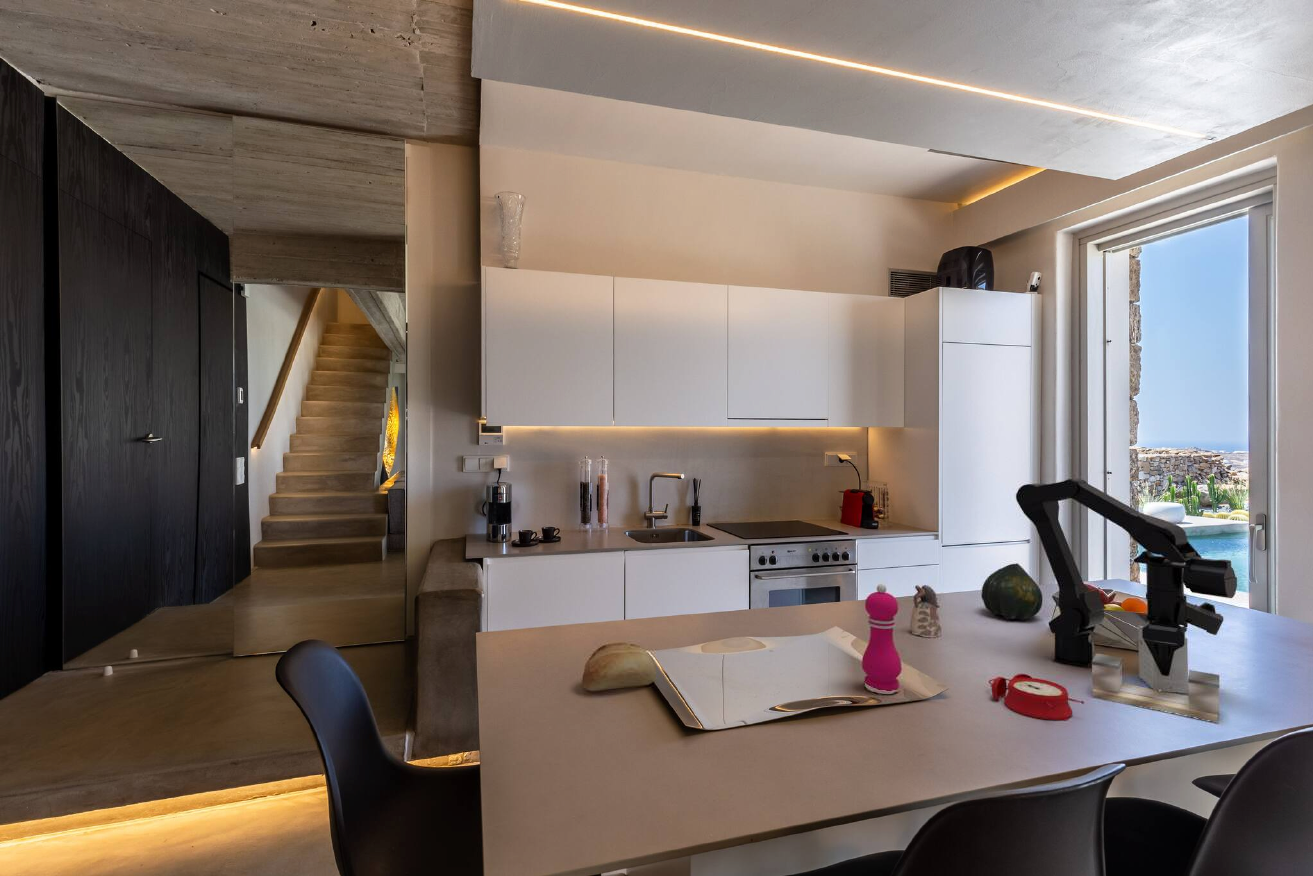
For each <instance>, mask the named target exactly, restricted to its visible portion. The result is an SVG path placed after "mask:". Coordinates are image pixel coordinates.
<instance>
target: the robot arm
mask: <svg viewBox="0 0 1313 876" xmlns="http://www.w3.org/2000/svg"><path fill="white" fill-rule="evenodd" d="M1070 499H1073V500H1074V501H1076V502H1077V503H1079V504H1081V505H1083V506H1084V507H1085V508H1088V509H1089V510H1091V511H1093V512H1094V513H1096V514H1098V515H1099V516H1101V517H1103V518H1104V519H1106V520H1109V521H1110V522H1112V523H1114V524H1115V525H1117V526H1118V527H1121V528H1122V529H1123V530H1125V532H1126V533H1128V535H1129V536H1130V537H1131V538H1132V539H1133V541H1135V542H1136V543H1137V544H1138V545H1140V546H1141V547H1142V548H1143V549H1145V550H1144V551H1142V552H1141V553H1140V554H1139V555H1138V556H1137V557H1135V558H1133V561H1132V562H1133V563H1136V564H1137V563H1138V564H1145V566H1146V574H1145V575H1146V593H1145V599H1146V604H1147V605H1146V610H1147V611H1146V615H1145V617H1146V618H1145V620H1146V621H1147V622H1146V623H1144V624H1143V625H1142V626H1143V628H1142V638H1143V639H1144V642H1145V643H1146V645H1147V647H1148V649H1149V651H1150V653H1151V655H1152V657H1153V659H1154V661H1155V663H1156V665H1157V667H1158V669H1159V671H1160V673H1161V675H1163V676H1169V673H1170V669H1171V664H1172V660H1173V655H1174V652H1175V651H1176V650H1177V649H1179V648H1182V647H1183V646H1184V645H1185V638H1186V632H1187V631H1188V626H1189V625H1191V626H1194V627H1196V628H1198V629H1201V630H1204V631H1205V632H1206V633H1208V634H1210V635H1214V636H1217V634H1218V633H1219V631H1220V628H1221V626H1222V625H1223V622H1224V621H1225V620H1224V616H1223V615H1221V613H1217V612H1216V606H1215V605H1214V604H1211V603H1209V602H1207V601H1205V602H1203V603H1201V604H1199V605H1198V604H1193V603H1190V602H1187V595H1185V589H1189V592H1191V593H1193V594H1197V595H1198V594H1199V595H1207V596H1213V597H1220V598H1226V599H1233V598H1234V597H1235V595H1236V593H1237V588H1238V577H1237V576H1236V572H1235V569H1234V568H1233V567H1232V560H1229V559H1223V558H1222V559H1213V558H1211V559H1210V558H1202V557H1203V556H1201V554H1200V553H1199V552H1198V551H1197V550H1196V549H1195V548H1194V547H1193V545H1192V544H1191V543H1190V542H1189V541H1188V536H1187V534H1186V531H1185V530H1184V529H1183V527H1181V526H1180V525H1178V524H1175V523H1172V522H1170V521H1167V520H1165V519H1162V518H1160V517H1159V518H1158V517H1155V516H1152V515H1148V514H1145V513H1142V512H1140V511H1138V510H1136V509H1134V508H1133V507H1131V506H1128V505H1127V504H1125V503H1123V502H1122V501H1120V500H1119V499H1116V498H1115V497H1113V496H1111V495H1109V494H1107V493H1106V492H1104V491H1102V490H1100V489H1098V488H1096V487H1094V486H1093V485H1091V484H1090V483H1088V482H1087V481H1086V480H1084V479H1082V478H1067V479H1065V480H1062V481H1058V482H1053V483H1048V484H1047V483H1043V482H1042V483H1027V484H1023V485H1021V486H1020V487H1019V488H1018V490H1017V492H1016V493H1015V500H1016V502H1017V504H1018V506H1019V508H1020V509H1021V511H1022V512H1023V514H1024V516H1026V517H1027V519H1029V520H1030V521H1031V522H1032V523H1033V525H1034V526H1035V529H1036V531H1037V534H1038V536H1039V539H1040V542H1041V545H1042V547H1043V550H1044V552H1045V555H1046V558H1047V560H1048V562H1049V565H1050V567H1051V571H1052V573H1053V576H1054V579H1055V580H1056V583H1057V586H1058V599H1057V604H1058V607H1059V608H1058V609H1059V613H1060V614H1059V615H1057V616H1056V617H1054V618H1053V619H1052V620H1050V621H1049V622H1048V627H1049V628H1050V629H1049V630H1050V632H1051V633H1052V634H1054V656H1053V658H1052V661H1053V662H1057V663H1063V664H1068V665H1074V666H1079V667H1084V668H1089V667H1090V665H1092V660H1093V658H1094V657H1095V642H1094V640H1092V637H1091V635H1092V634H1091V633H1094V631H1095V630H1096V628H1097V626H1099V625H1100V624H1101V623H1103V621H1104V619H1105V615H1106V614H1105V610H1107V607H1106V606H1105V604H1104V603H1103V602H1102V599H1101V595H1100V592H1099V590H1098V589H1093V590H1091V589H1090V588H1089V587H1088V586H1087V585H1086V584H1085V583H1084V580H1083V578H1082V577H1081V574H1080V571H1079V569H1078V566H1077V564H1076V561H1075V559H1074V556H1073V554H1072V550H1071V549H1070V545H1069V543H1068V541H1067V539H1066V536H1065V534H1064V531H1063V529H1062V526H1061V524H1060V520H1059V514H1060V504H1059V502H1060V501H1061V502H1062V501H1066V500H1070Z"/></svg>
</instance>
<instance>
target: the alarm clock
mask: <svg viewBox="0 0 1313 876" xmlns="http://www.w3.org/2000/svg"><path fill="white" fill-rule="evenodd" d="M1007 681H1008V682H1007ZM988 684H989V685H990V687H991V693H992V694H991V695H992V697H993V698H994V699H995V700H996V701H999V698H1002V697H1003V699H1004V700H1003V701H1004V705H1005V706H1006V707H1007V708H1008V709H1009V710H1012V711H1014V712H1016V713H1017V714H1018V713H1019V714H1021V715H1024V716H1027V717H1032V718H1037V719H1044V720H1054V721H1055V720H1057V721H1058V720H1063V721H1064V722H1066V721H1069V718H1070V717H1072V716H1073V710H1072V708H1071V705H1070V703H1069V701H1071V702H1076V703H1077V702H1078V703H1081V704H1085V701H1084V700H1078V699H1073V698H1070V697H1069V692H1068V690H1067V688H1066V687H1065V686H1062V685H1061V684H1059V683H1056V682H1054V681H1049V680H1047V679H1041V678H1035V677H1032V675H1031V676H1030V675H1029V674H1025V673H1018V674H1015V675H1014V676H1013V677H1012V678H1010V679H1009V678H1005V677H1003V676H998V677H995V678H992V679H989V680H988Z"/></svg>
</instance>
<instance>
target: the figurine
mask: <svg viewBox="0 0 1313 876" xmlns="http://www.w3.org/2000/svg"><path fill="white" fill-rule="evenodd" d="M914 589H915V590H916V591H917V592H916V593H915V594H914V595H913V605H914V606H913V609H912V612H911V617H910V622H909V628H910V629H911V630H910V632H911V631H912V632H913V633H917V634H919V635H924V636H938V635H940V634H941V635H942V627H941V623H940V618H939V612H938V608H941V607H940V606H941V605H940V604H938V598H937V595H936V591H935V590H934V589H933V588H932V587H931V585H927V584H924V585H921V587H920V586H919V585H918V584H917V585H915V586H914ZM919 599H920V600H919ZM918 600H919V601H918Z"/></svg>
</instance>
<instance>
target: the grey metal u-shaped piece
mask: <svg viewBox="0 0 1313 876" xmlns="http://www.w3.org/2000/svg"><path fill="white" fill-rule="evenodd" d="M1091 667H1092V668H1091V672H1092V673H1091V677H1092V679H1091V681H1092V682H1091V688H1092V698H1097V699H1102V700H1107V701H1110V702H1111V701H1112V702H1116V703H1119V704H1124V703H1126V704H1125V705H1129V704H1132V705H1131V706H1134V705H1135V706H1134V707H1138V706H1142V707H1141V708H1143V707H1146V708H1145V709H1148V708H1152V709H1155V710H1154V711H1157V710H1162V711H1167V712H1171V713H1178V714H1180V715H1187V716H1190V717H1196V718H1198V719H1197V720H1199V719H1204V720H1210V721H1212V722H1211V723H1213V722H1217V723H1216V724H1218V720H1219V717H1218V716H1219V715H1220V674H1215V673H1210V672H1206V671H1205V672H1204V671H1203V672H1202V671H1197V670H1191V669H1188V695H1183V694H1180V693H1175V692H1166V691H1159V690H1154V689H1152V688H1150V687H1149V688H1148V687H1144V686H1143V687H1142V686H1139V685H1138V686H1137V685H1133V684H1128V683H1123V657H1119V656H1115V655H1114V656H1113V655H1108V654H1102V653H1095V654H1094V658H1093V660H1092V663H1091ZM1152 709H1151V710H1152ZM1162 711H1161V712H1162ZM1171 713H1170V714H1171ZM1180 715H1179V716H1180ZM1190 717H1189V718H1190ZM1204 720H1203V721H1204Z"/></svg>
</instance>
